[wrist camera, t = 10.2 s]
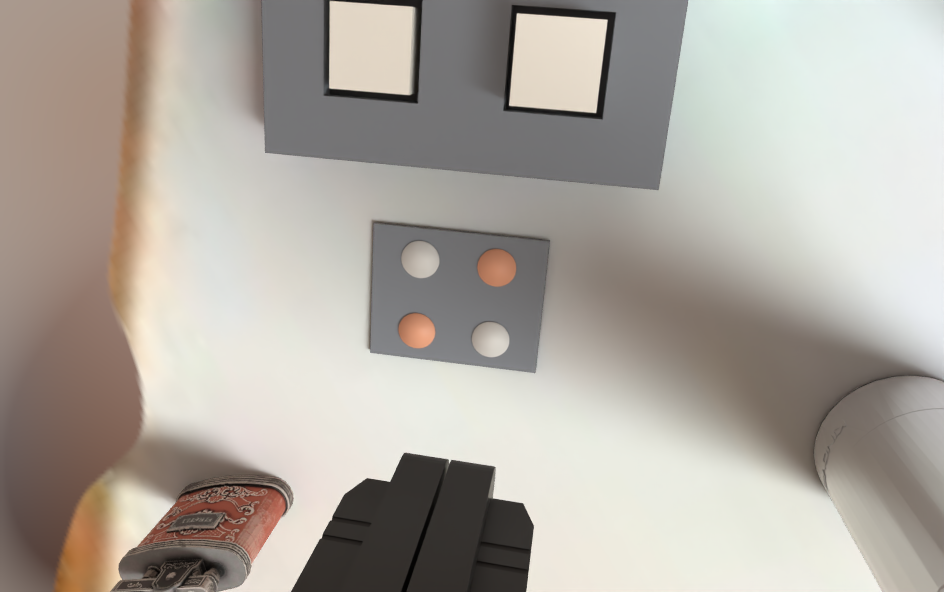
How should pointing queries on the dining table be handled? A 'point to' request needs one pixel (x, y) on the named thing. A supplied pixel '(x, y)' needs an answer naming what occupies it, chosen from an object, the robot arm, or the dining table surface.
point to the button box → (478, 93)
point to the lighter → (207, 536)
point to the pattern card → (457, 296)
